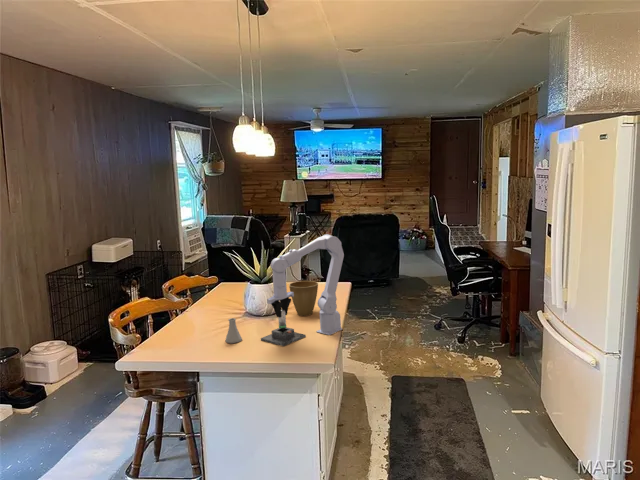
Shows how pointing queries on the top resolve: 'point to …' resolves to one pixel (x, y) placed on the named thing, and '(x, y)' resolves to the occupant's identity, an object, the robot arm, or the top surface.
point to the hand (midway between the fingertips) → (281, 315)
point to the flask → (233, 332)
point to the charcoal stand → (283, 336)
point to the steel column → (282, 319)
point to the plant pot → (304, 296)
